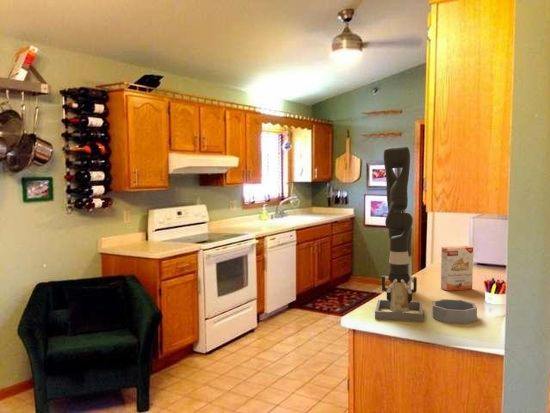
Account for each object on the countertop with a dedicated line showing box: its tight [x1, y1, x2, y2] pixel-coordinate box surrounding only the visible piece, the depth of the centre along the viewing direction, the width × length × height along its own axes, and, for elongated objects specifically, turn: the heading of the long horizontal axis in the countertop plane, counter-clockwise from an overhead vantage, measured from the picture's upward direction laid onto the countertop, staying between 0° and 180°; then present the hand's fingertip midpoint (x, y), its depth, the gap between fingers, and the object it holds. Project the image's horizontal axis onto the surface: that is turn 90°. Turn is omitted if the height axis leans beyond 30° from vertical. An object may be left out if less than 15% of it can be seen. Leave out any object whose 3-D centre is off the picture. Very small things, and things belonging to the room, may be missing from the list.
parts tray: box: [374, 299, 424, 323], centre depth 193 cm, size 18×18×3 cm
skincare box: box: [389, 281, 409, 313], centre depth 193 cm, size 6×4×12 cm
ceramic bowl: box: [431, 298, 478, 325], centre depth 187 cm, size 16×16×5 cm
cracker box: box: [440, 245, 474, 292], centre depth 231 cm, size 14×6×21 cm, turn 101°
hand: (399, 301), depth 193 cm, fingers closed on skincare box, 7 cm apart
